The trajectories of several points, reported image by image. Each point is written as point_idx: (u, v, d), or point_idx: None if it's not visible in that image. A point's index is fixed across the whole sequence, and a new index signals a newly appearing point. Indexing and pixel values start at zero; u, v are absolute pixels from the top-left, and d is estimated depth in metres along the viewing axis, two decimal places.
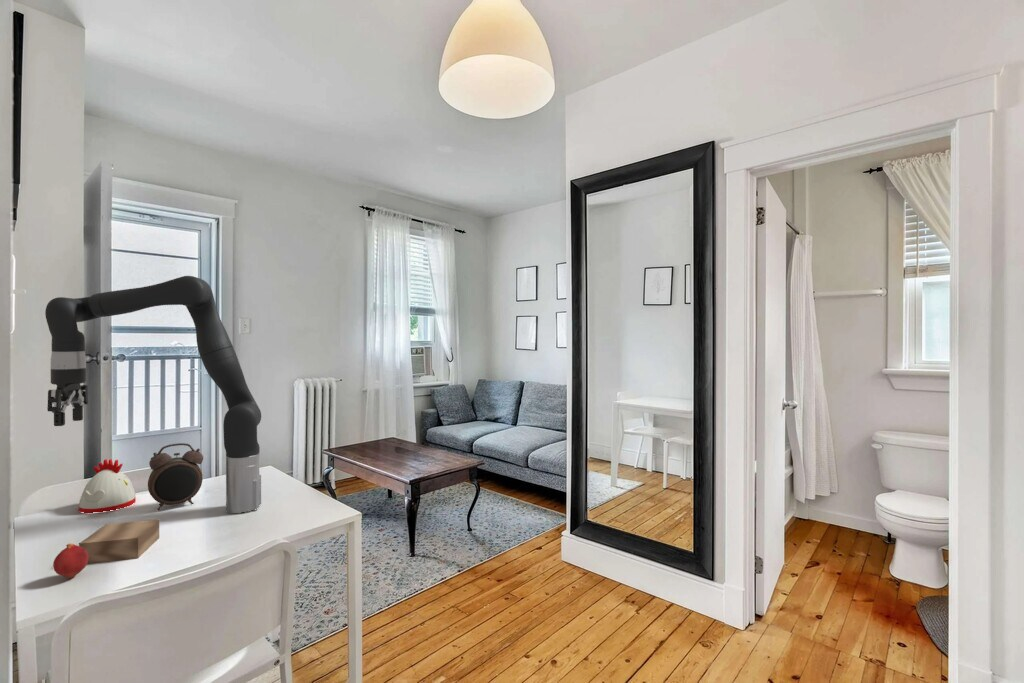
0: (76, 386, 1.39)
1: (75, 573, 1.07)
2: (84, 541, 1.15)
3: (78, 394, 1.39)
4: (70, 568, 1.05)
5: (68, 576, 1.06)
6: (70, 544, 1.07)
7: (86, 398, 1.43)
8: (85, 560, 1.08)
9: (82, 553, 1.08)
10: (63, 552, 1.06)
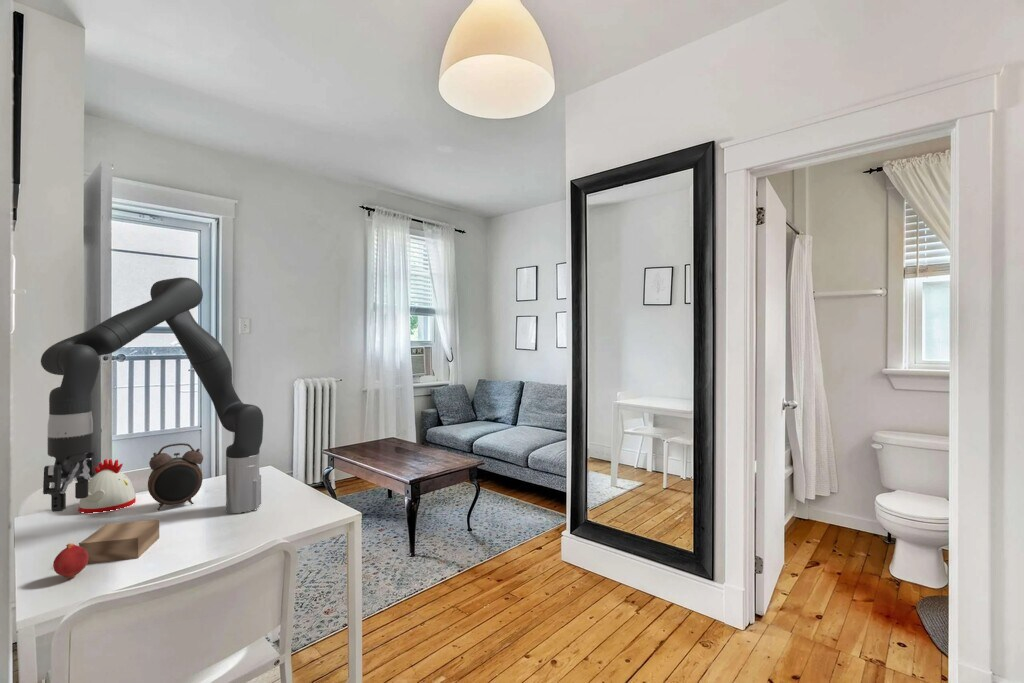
0: (80, 456, 1.09)
1: (75, 573, 1.07)
2: (84, 541, 1.15)
3: (83, 466, 1.09)
4: (70, 568, 1.05)
5: (68, 576, 1.06)
6: (70, 544, 1.07)
7: (92, 468, 1.14)
8: (85, 560, 1.08)
9: (82, 553, 1.08)
10: (63, 552, 1.06)
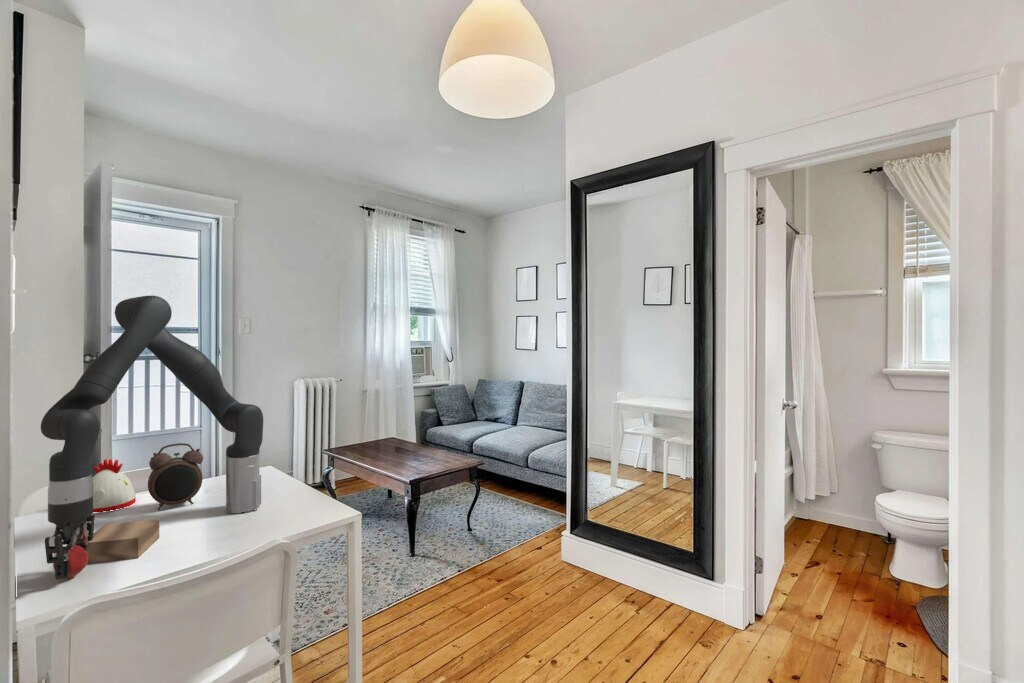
0: (80, 519, 1.09)
1: (75, 573, 1.07)
2: None
3: (83, 529, 1.09)
4: (70, 568, 1.05)
5: (68, 576, 1.06)
6: None
7: (91, 532, 1.13)
8: (85, 560, 1.08)
9: (82, 553, 1.08)
10: None
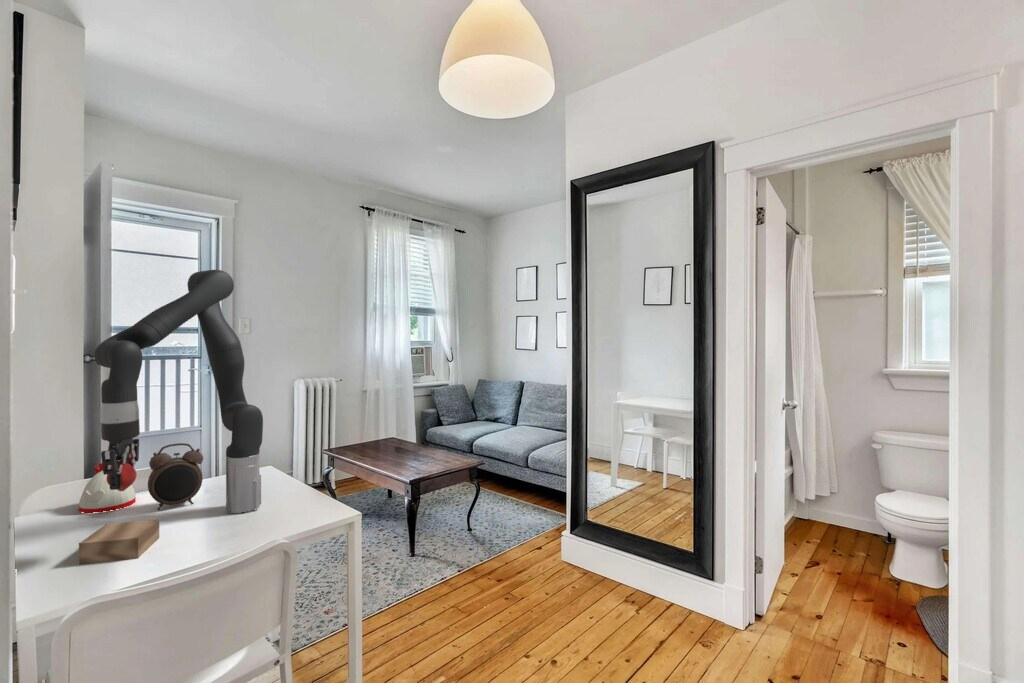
0: (129, 440, 1.22)
1: (126, 486, 1.20)
2: (84, 541, 1.15)
3: (131, 449, 1.22)
4: (122, 481, 1.18)
5: (120, 489, 1.19)
6: None
7: (137, 454, 1.26)
8: (134, 475, 1.21)
9: (132, 469, 1.21)
10: None
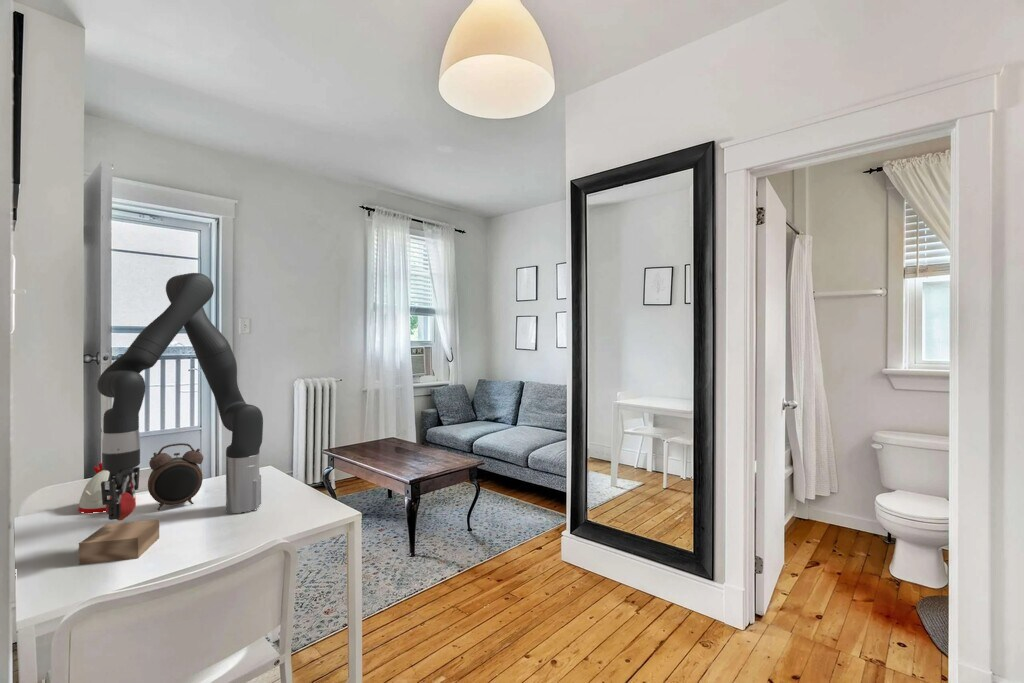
0: (129, 469, 1.23)
1: (125, 516, 1.20)
2: (84, 541, 1.15)
3: (131, 478, 1.22)
4: (121, 511, 1.19)
5: (119, 518, 1.20)
6: None
7: (137, 482, 1.27)
8: (133, 505, 1.21)
9: (131, 499, 1.21)
10: None
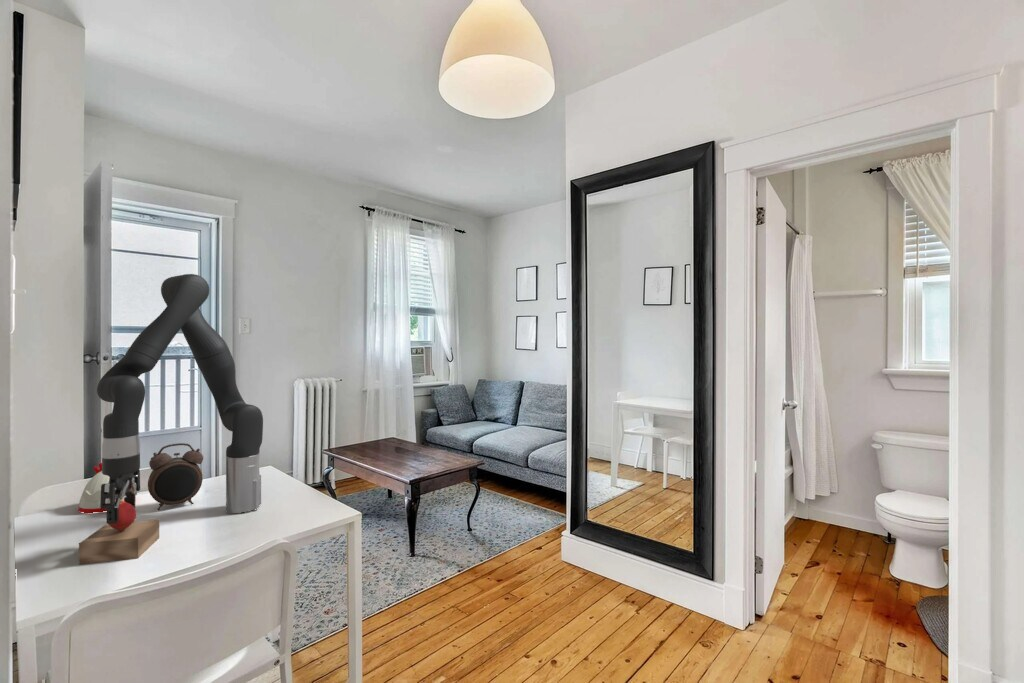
0: (129, 474, 1.23)
1: (125, 526, 1.20)
2: (84, 541, 1.15)
3: (131, 483, 1.23)
4: (122, 522, 1.19)
5: (119, 529, 1.20)
6: (121, 501, 1.20)
7: (138, 484, 1.27)
8: (134, 515, 1.21)
9: (132, 509, 1.21)
10: None
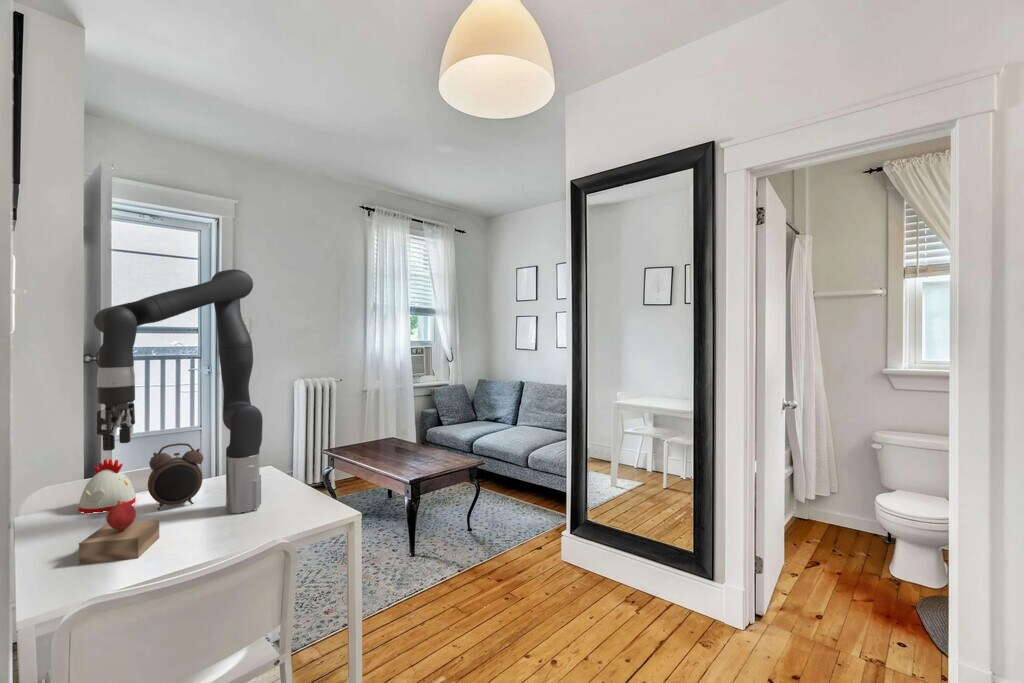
0: (124, 405, 1.25)
1: (125, 526, 1.20)
2: (84, 541, 1.15)
3: (126, 414, 1.25)
4: (121, 522, 1.19)
5: (119, 529, 1.20)
6: (121, 501, 1.20)
7: (133, 417, 1.30)
8: (134, 515, 1.21)
9: (131, 509, 1.21)
10: (115, 507, 1.19)
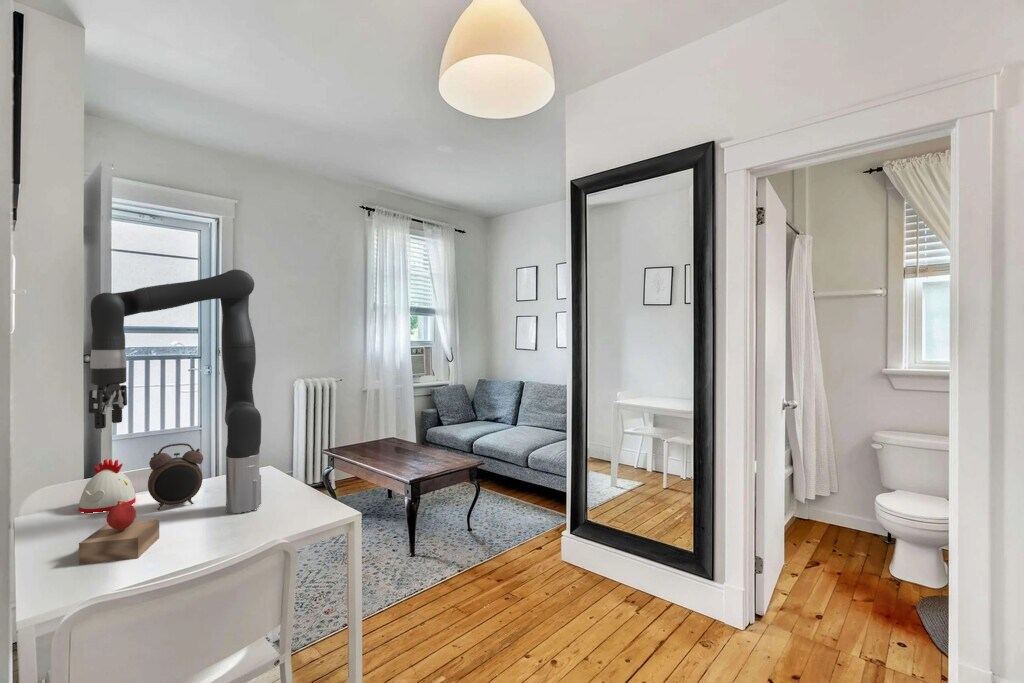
0: (116, 386, 1.31)
1: (125, 526, 1.20)
2: (84, 541, 1.15)
3: (118, 395, 1.31)
4: (121, 522, 1.19)
5: (119, 529, 1.20)
6: (121, 501, 1.20)
7: (125, 399, 1.36)
8: (134, 515, 1.21)
9: (131, 509, 1.21)
10: (115, 507, 1.19)
